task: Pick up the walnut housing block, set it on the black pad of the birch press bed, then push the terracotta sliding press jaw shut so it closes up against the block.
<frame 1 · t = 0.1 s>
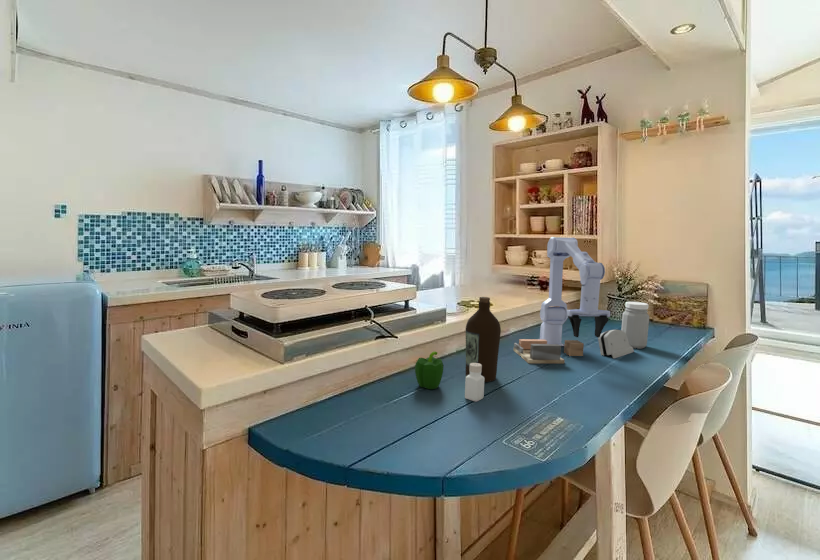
hand: (586, 336, 146), 10 cm above the breakfast bar, tool pointing down, fingers open, 7 cm apart
press bed: (537, 356, 155), on the breakfast bar
press jaw: (532, 344, 160), point 3 cm above the breakfast bar, slide at 0.0 cm
jar: (632, 346, 175), on the breakfast bar
white pill bottle: (473, 399, 114), on the breakfast bar
housing block: (573, 354, 159), on the breakfast bar
bell pepper: (429, 387, 122), on the breakfast bar
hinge: (614, 353, 164), on the breakfast bar
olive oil: (480, 377, 131), on the breakfast bar
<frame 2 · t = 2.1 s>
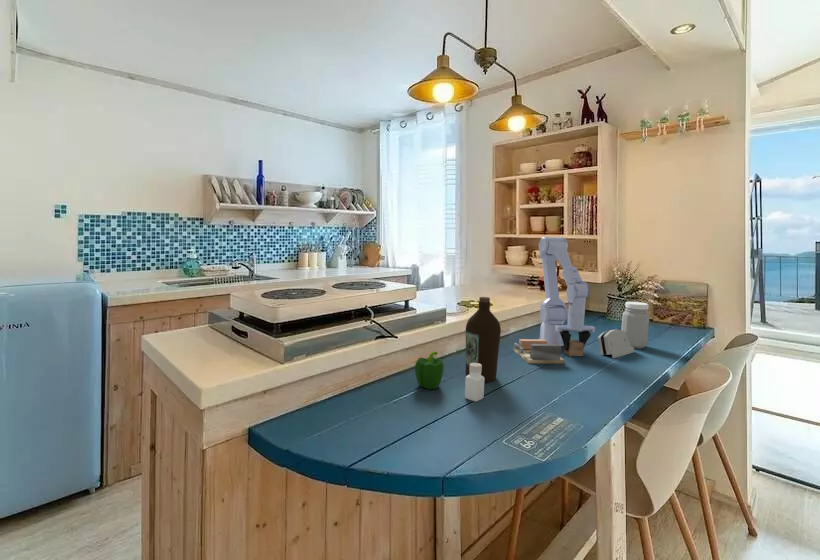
hand: (573, 350, 159), 2 cm above the breakfast bar, tool pointing down, fingers closed on housing block, 5 cm apart
housing block: (573, 354, 159), on the breakfast bar, touching gripper
everything else where it was.
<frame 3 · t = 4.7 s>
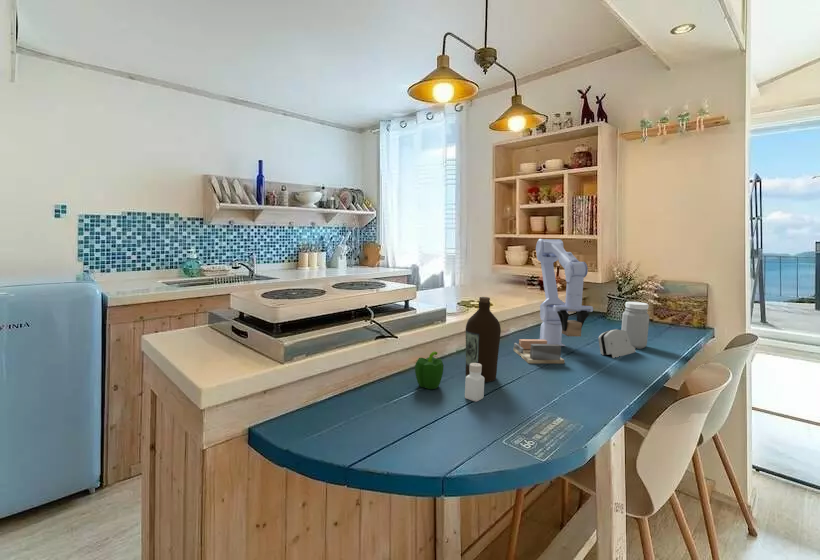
hand: (571, 330, 157), 9 cm above the breakfast bar, tool pointing down, fingers closed on housing block, 5 cm apart
housing block: (571, 334, 158), point 8 cm above the breakfast bar, touching gripper
everything else where it was.
when the fingers open (4 cm above the breakfast bar, at t = 7.5 s): housing block stays where it is, resting on press bed.
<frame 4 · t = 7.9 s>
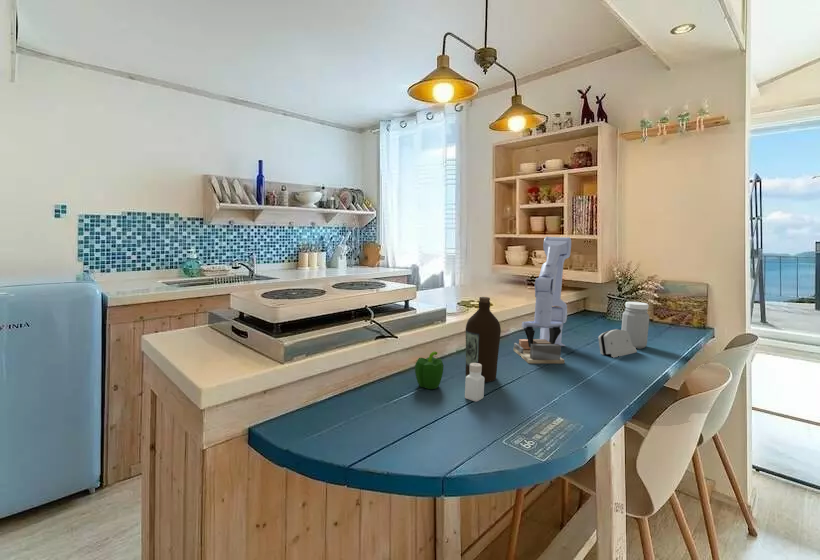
hand: (540, 347, 152), 4 cm above the breakfast bar, tool pointing down, fingers open, 7 cm apart
housing block: (540, 354, 153), point 1 cm above the breakfast bar, touching press bed
everything else where it was.
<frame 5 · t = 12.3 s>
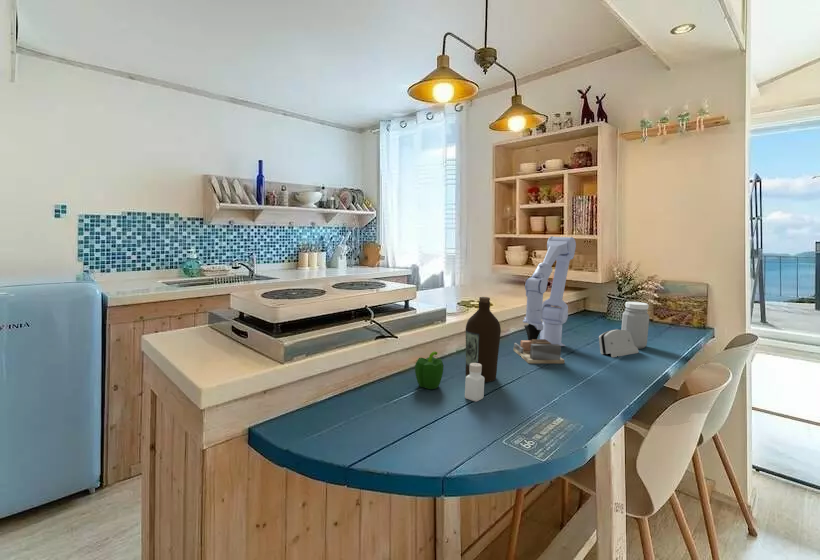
hand: (531, 344, 161), 3 cm above the breakfast bar, tool pointing down, fingers closed
press jaw: (534, 345, 158), point 3 cm above the breakfast bar, slide at 1.6 cm, touching gripper
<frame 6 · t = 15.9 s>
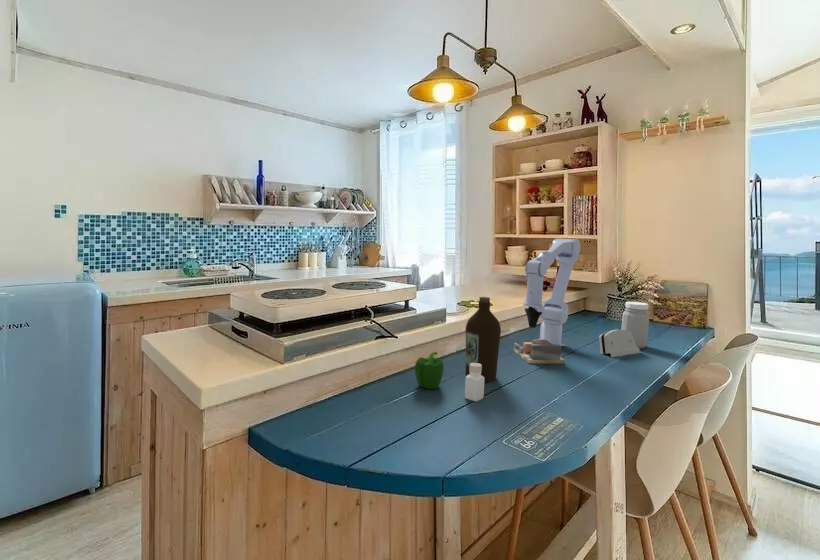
hand: (532, 327, 161), 9 cm above the breakfast bar, tool pointing down, fingers closed
press jaw: (537, 347, 156), point 3 cm above the breakfast bar, slide at 4.4 cm, touching housing block
housing block: (540, 354, 152), point 1 cm above the breakfast bar, touching press bed, press jaw
at the end: press jaw slide at 4.4 cm; housing block 0.4 cm from the target spot on the press bed, point 1.5 cm above the press bed's base; housing block tilted 0° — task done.
